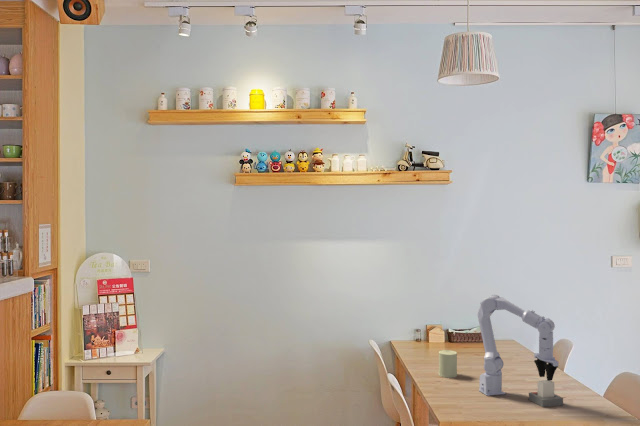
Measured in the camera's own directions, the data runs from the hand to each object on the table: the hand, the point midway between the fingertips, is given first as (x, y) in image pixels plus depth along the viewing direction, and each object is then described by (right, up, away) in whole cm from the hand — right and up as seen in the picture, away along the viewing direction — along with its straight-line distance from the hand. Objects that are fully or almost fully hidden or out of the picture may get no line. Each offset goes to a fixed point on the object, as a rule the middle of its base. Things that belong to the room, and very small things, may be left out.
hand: (545, 378), depth 259 cm
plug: (0, -10, 0) cm, 10 cm away
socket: (0, -10, 0) cm, 10 cm away
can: (-34, -10, +41) cm, 54 cm away
